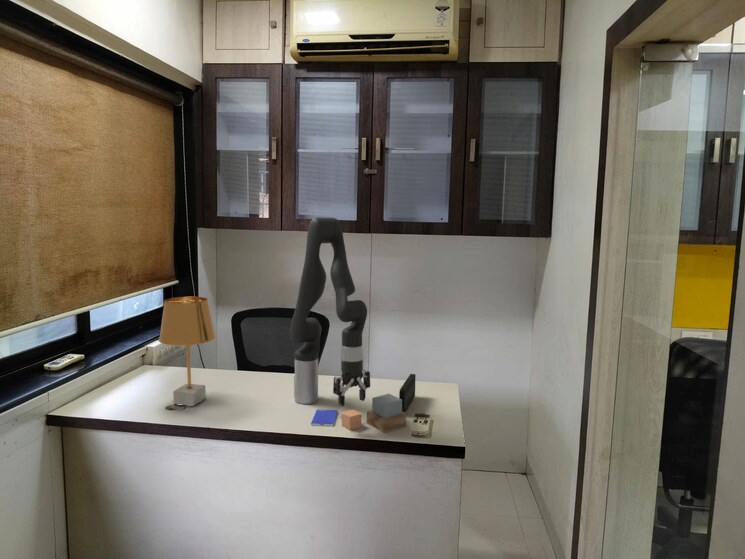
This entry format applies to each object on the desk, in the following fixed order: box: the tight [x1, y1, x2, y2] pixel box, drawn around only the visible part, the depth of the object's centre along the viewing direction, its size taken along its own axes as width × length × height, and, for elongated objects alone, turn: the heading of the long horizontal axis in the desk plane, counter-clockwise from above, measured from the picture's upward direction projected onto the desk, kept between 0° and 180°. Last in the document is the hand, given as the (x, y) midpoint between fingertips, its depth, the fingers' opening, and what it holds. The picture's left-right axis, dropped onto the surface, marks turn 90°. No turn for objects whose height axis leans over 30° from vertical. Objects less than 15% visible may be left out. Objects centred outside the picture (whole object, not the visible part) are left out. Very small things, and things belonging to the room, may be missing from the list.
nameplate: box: [398, 373, 416, 414], centre depth 201 cm, size 21×2×10 cm, turn 164°
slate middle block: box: [371, 393, 402, 418], centre depth 182 cm, size 8×8×5 cm
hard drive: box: [310, 409, 339, 427], centre depth 188 cm, size 2×8×12 cm
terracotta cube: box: [341, 409, 362, 431], centre depth 181 cm, size 5×5×5 cm
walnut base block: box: [366, 409, 407, 434], centre depth 183 cm, size 10×10×5 cm
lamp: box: [158, 296, 217, 407], centre depth 200 cm, size 21×21×41 cm
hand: (352, 402), depth 180 cm, fingers open, 8 cm apart
